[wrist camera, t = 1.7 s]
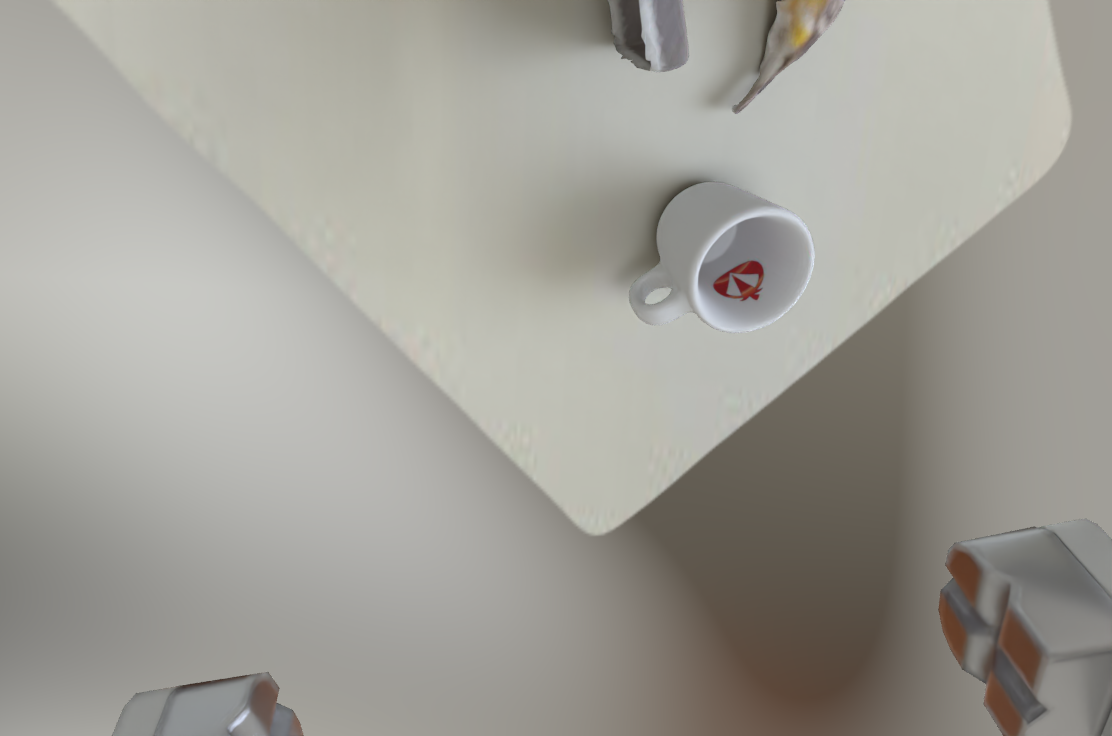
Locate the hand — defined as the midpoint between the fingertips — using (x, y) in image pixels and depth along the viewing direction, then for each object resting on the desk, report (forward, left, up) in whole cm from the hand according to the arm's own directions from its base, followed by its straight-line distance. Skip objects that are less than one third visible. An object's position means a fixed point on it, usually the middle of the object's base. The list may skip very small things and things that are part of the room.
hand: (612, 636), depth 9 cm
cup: (+22, +2, -39) cm, 45 cm away
